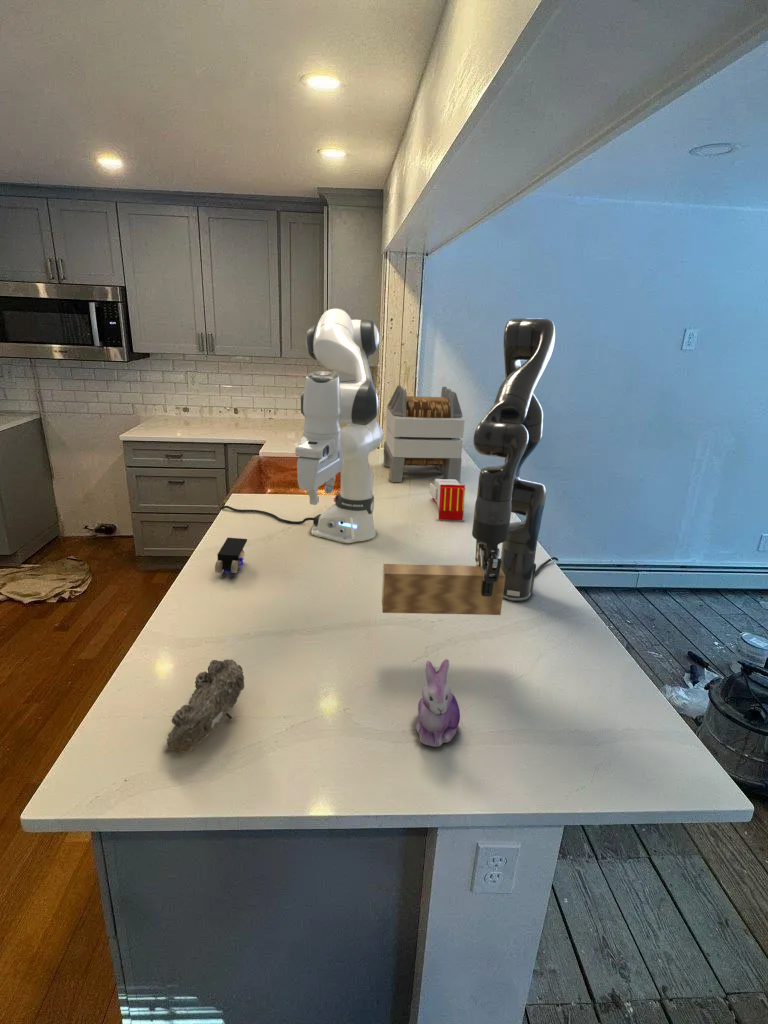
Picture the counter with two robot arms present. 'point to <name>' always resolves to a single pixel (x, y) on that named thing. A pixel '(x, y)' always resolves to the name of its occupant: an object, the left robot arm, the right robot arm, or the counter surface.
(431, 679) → the figurine
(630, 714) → the counter surface
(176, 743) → the fossil
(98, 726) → the counter surface
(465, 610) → the bar
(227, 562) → the figurine character
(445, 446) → the transformer
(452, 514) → the toy
